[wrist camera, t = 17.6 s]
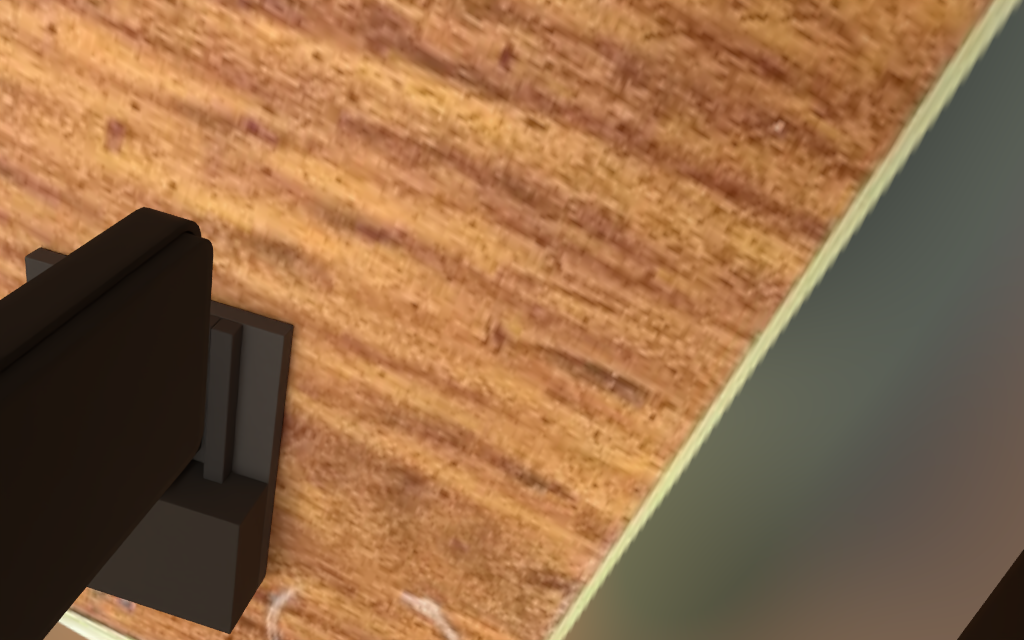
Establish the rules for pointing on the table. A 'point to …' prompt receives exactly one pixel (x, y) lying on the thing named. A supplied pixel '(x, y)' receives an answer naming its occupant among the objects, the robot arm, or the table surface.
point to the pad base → (212, 481)
